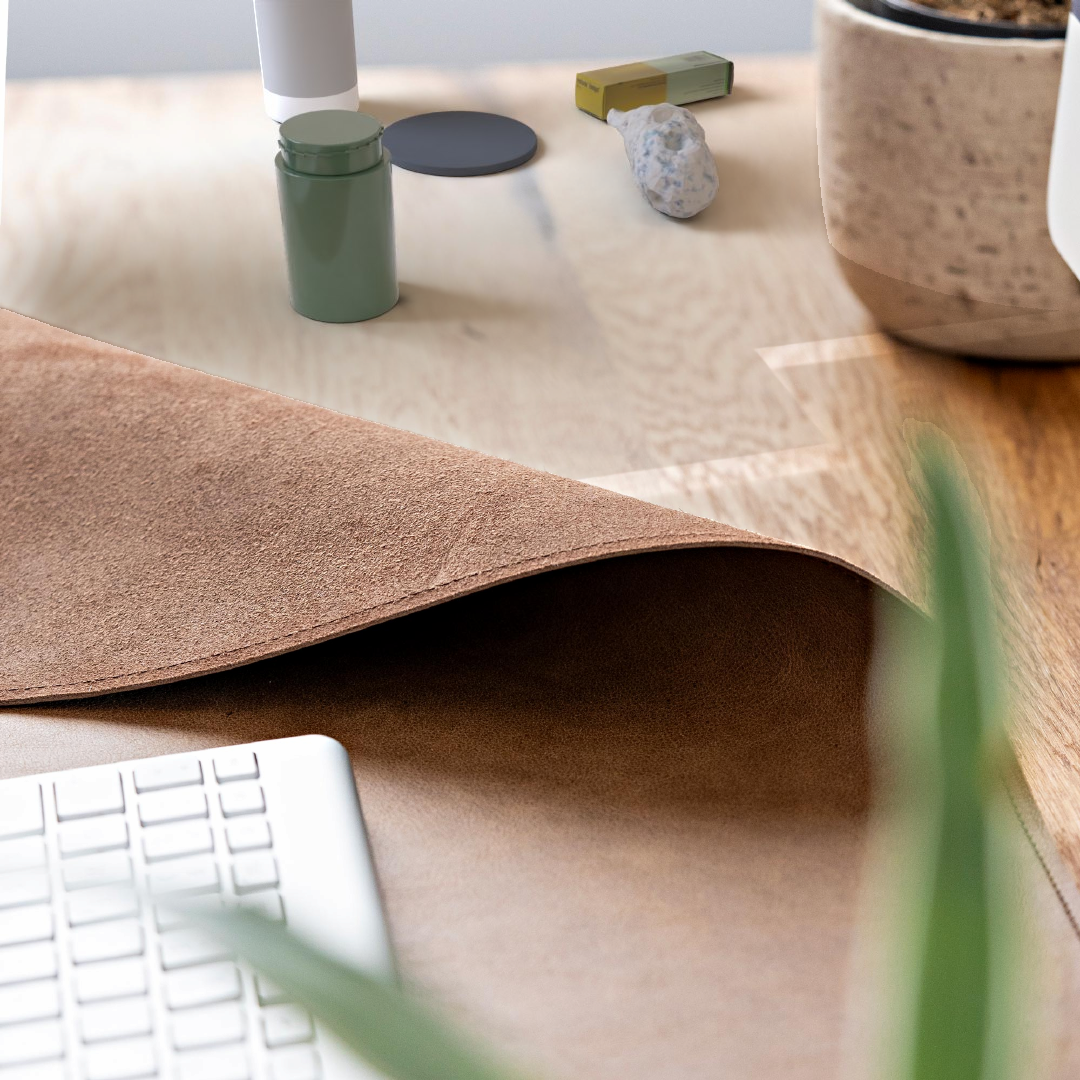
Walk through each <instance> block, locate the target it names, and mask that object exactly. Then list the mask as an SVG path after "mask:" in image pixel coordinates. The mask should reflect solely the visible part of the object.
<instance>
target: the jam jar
mask: <svg viewBox="0 0 1080 1080" xmlns="http://www.w3.org/2000/svg"><path fill="white" fill-rule="evenodd" d="M384 129H385V125H384V124H383V122H381V121H380V120H379V119H377V117H376V118H375V117H374V116H372V115H370V114H367V113H364V112H361V111H357V112H356V111H349V110H320V111H312V112H307V113H303V114H299V115H296V116H293V117H291V118H289V119H287V120H286V121H284V122H283V123H280V125H279V129H278V135H279V139H277V144H278V148H279V149H280V150H279V151H278V152H277V153H276V155H275V156H274V159H273V161H274V162H273V163H274V169H275V170H274V171H275V178H276V189H277V195H278V205H279V214H280V222H281V232H282V240H283V249H284V257H285V267H286V275H287V283H288V284H287V285H288V292H289V300H290V305H291V307H292V308H293V309H294V310H295V311H296V312H297V313H299V314H300V315H302V316H304V317H306V318H309V319H312V320H315V321H319V322H324V323H325V322H326V323H339V324H340V323H353V322H355V323H356V322H361V321H365V320H369V319H373V318H376V317H379V316H381V315H383V314H386V313H387V312H388V311H390V310H391V309H392V308H394V307H395V306H396V305H397V303H398V301H399V298H400V286H399V285H400V284H399V270H398V269H399V267H398V251H397V235H396V234H397V233H396V219H395V218H396V217H395V216H396V215H395V200H394V199H395V198H394V182H393V180H394V179H393V165H392V164H393V163H392V162H391V154H390V152H389V150H388V149H387V148H385V147H384V146H383V140H382V137H383V133H384Z"/></svg>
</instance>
